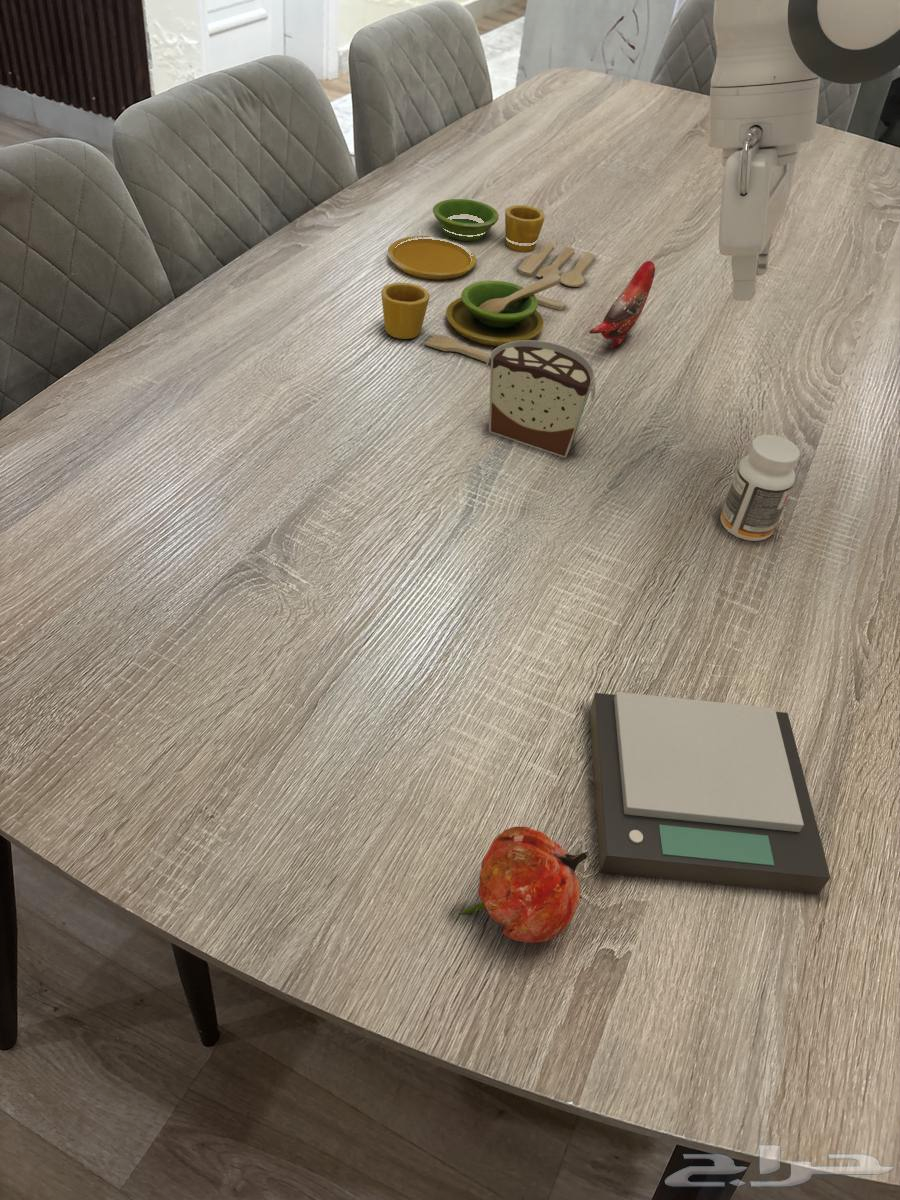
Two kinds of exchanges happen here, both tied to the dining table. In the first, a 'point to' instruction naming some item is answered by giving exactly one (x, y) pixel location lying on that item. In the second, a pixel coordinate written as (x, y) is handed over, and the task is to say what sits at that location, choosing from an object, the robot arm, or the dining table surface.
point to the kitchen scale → (702, 794)
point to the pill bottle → (760, 488)
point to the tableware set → (483, 305)
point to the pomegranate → (529, 885)
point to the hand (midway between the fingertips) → (750, 286)
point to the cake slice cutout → (538, 393)
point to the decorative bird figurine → (627, 306)
